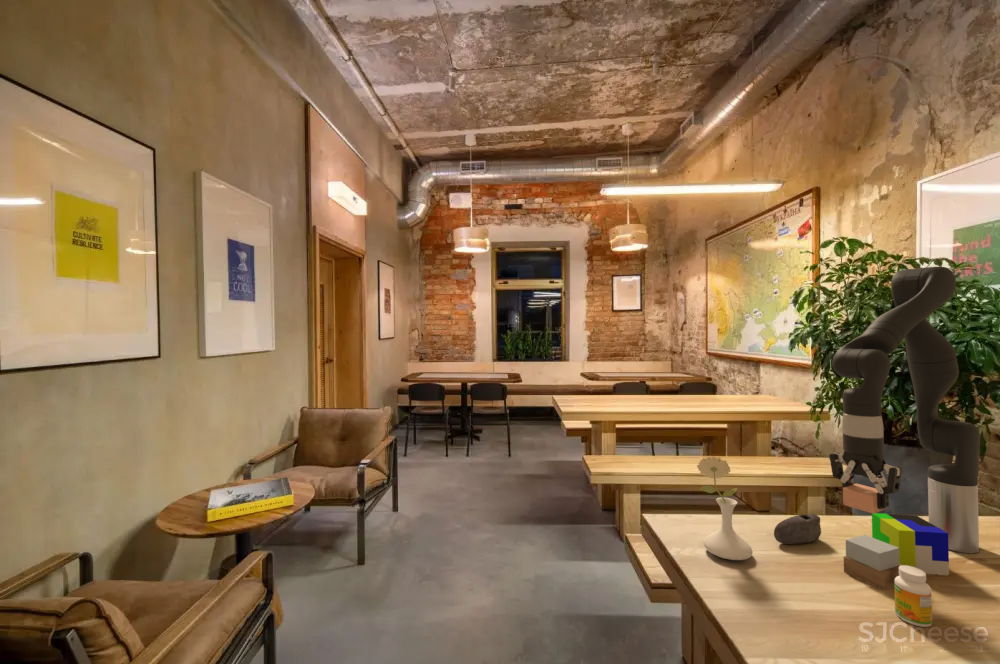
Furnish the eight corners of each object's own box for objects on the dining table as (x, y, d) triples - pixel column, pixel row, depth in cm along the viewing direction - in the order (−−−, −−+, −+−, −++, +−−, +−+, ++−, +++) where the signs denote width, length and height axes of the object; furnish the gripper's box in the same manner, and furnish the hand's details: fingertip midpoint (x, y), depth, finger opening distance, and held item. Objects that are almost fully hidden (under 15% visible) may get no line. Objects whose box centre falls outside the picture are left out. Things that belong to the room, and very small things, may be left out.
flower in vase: (757, 552, 113) (755, 457, 113) (746, 570, 105) (744, 467, 105) (705, 537, 122) (703, 448, 122) (690, 552, 114) (689, 458, 114)
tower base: (863, 565, 107) (863, 549, 107) (904, 583, 99) (903, 565, 99) (843, 573, 104) (843, 556, 104) (884, 591, 96) (883, 573, 96)
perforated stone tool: (782, 550, 114) (781, 523, 114) (766, 540, 120) (765, 515, 120) (829, 543, 117) (828, 517, 117) (811, 534, 123) (811, 510, 123)
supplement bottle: (887, 611, 89) (886, 564, 89) (911, 609, 90) (910, 562, 90) (914, 628, 84) (913, 578, 84) (940, 626, 84) (939, 577, 84)
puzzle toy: (949, 575, 101) (948, 533, 101) (899, 571, 103) (898, 530, 103) (917, 554, 111) (916, 515, 111) (872, 551, 113) (871, 512, 113)
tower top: (864, 550, 106) (864, 534, 106) (899, 565, 99) (899, 547, 99) (845, 556, 104) (845, 539, 104) (879, 571, 97) (879, 553, 97)
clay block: (857, 499, 106) (856, 483, 106) (887, 508, 101) (886, 491, 101) (843, 504, 104) (842, 488, 104) (873, 513, 98) (872, 496, 98)
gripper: (909, 437, 97) (912, 511, 97) (839, 425, 110) (841, 490, 110) (889, 441, 94) (892, 518, 94) (820, 428, 108) (822, 495, 108)
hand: (864, 502), depth 102 cm, fingers closed on clay block, 6 cm apart
